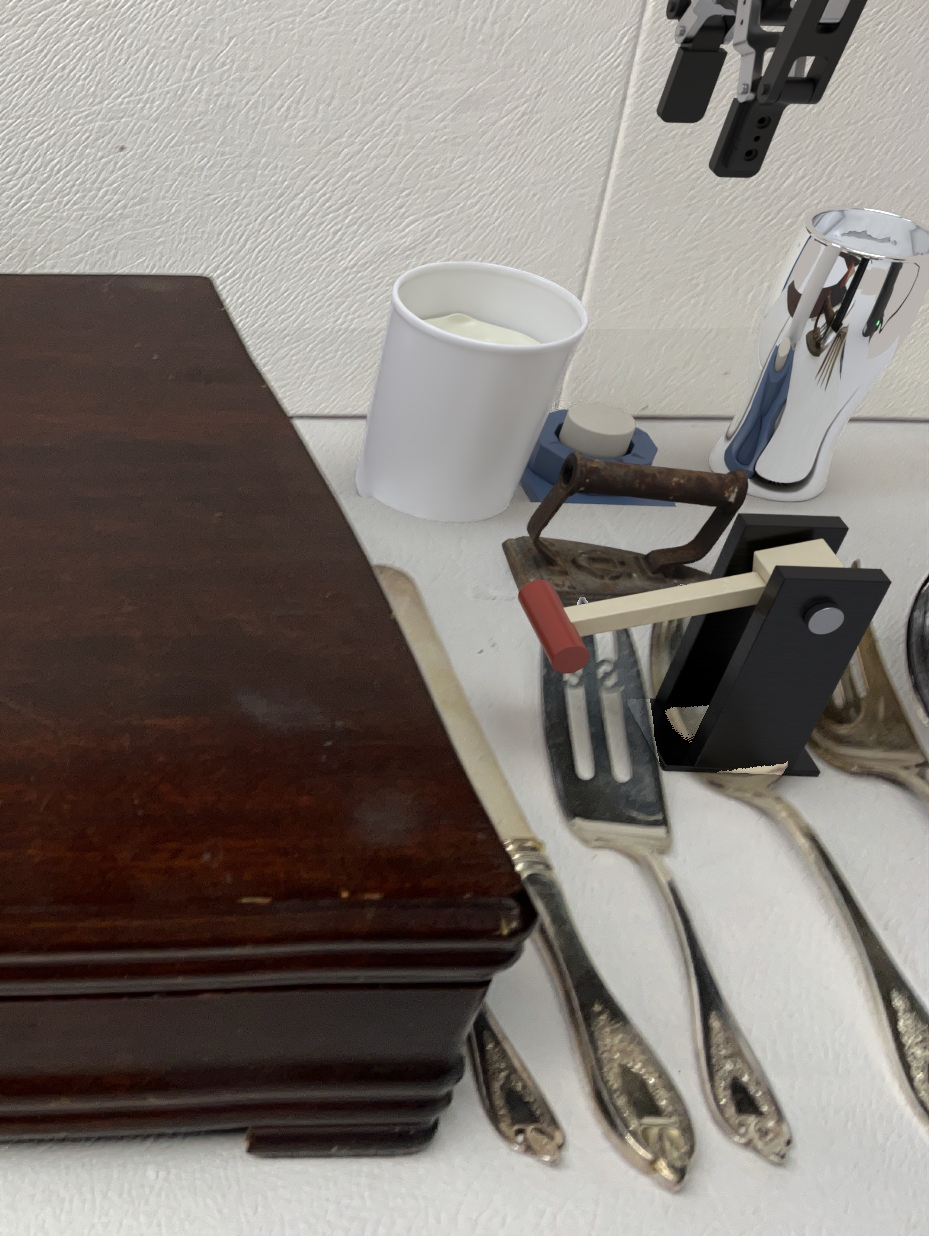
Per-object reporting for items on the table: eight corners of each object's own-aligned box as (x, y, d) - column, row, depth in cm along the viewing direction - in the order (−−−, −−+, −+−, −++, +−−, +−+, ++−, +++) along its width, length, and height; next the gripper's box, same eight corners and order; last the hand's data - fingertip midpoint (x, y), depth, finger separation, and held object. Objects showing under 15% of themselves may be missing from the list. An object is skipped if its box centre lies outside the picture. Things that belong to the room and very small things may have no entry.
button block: (489, 428, 106) (501, 392, 105) (616, 432, 106) (630, 396, 105) (541, 521, 99) (555, 483, 97) (678, 526, 98) (695, 488, 97)
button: (550, 427, 103) (559, 400, 101) (613, 428, 102) (623, 402, 101) (570, 460, 100) (580, 433, 99) (635, 462, 100) (646, 435, 99)
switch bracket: (659, 792, 82) (758, 584, 74) (615, 709, 86) (703, 505, 79) (815, 798, 81) (930, 590, 74) (762, 714, 86) (864, 510, 78)
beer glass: (800, 521, 99) (918, 272, 89) (677, 471, 103) (778, 228, 93) (852, 477, 102) (971, 233, 93) (732, 430, 106) (834, 191, 97)
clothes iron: (472, 559, 97) (568, 397, 91) (665, 614, 97) (772, 456, 92) (509, 626, 91) (613, 457, 85) (714, 684, 92) (830, 520, 86)
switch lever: (551, 684, 79) (551, 642, 77) (517, 616, 82) (517, 575, 81) (854, 629, 76) (860, 585, 74) (805, 562, 80) (809, 519, 78)
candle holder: (522, 557, 96) (594, 359, 88) (335, 523, 99) (389, 328, 91) (519, 465, 103) (585, 275, 96) (344, 436, 106) (395, 249, 98)
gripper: (1007, -172, 74) (841, 208, 84) (852, -249, 85) (723, 95, 95) (822, -175, 74) (680, 204, 85) (692, -252, 85) (581, 92, 96)
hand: (703, 145), depth 90 cm, fingers open, 6 cm apart
